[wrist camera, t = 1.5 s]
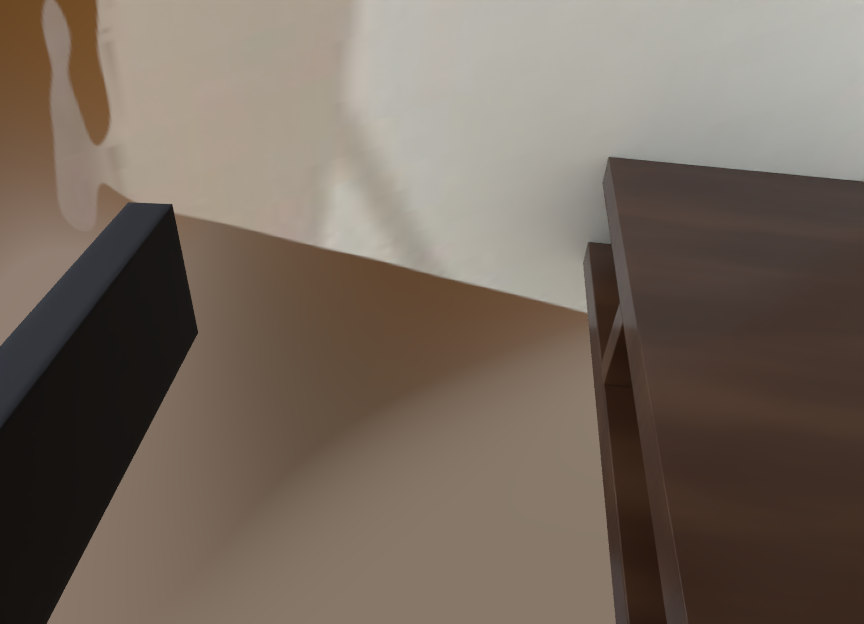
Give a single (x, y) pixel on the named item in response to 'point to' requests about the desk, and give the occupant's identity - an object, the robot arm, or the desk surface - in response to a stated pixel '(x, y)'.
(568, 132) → the desk surface
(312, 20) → the desk surface
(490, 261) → the desk surface
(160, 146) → the desk surface
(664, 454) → the shelf
